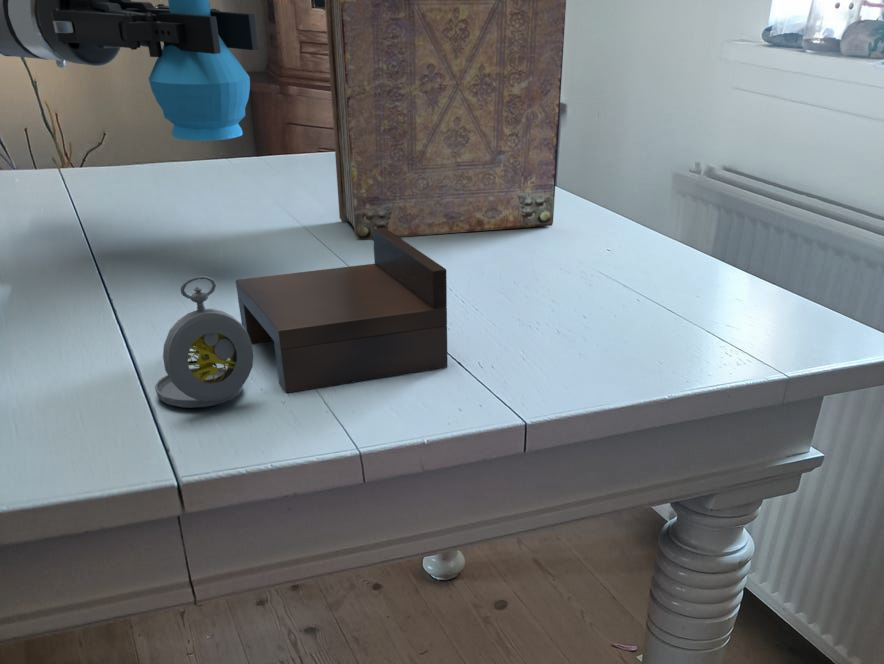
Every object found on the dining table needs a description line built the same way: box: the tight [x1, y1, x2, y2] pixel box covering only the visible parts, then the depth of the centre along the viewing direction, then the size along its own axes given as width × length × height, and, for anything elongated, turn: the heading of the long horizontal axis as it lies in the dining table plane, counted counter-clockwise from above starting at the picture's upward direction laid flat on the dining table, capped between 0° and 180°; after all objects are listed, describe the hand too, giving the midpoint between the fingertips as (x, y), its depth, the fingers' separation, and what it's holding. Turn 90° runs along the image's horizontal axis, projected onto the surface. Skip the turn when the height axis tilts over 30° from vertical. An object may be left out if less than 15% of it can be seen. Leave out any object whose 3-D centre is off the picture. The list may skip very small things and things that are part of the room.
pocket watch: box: [154, 275, 254, 409], centre depth 69 cm, size 8×8×10 cm
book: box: [324, 0, 567, 241], centre depth 107 cm, size 25×9×30 cm, turn 107°
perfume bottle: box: [148, 0, 251, 142], centre depth 85 cm, size 9×9×15 cm
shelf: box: [235, 228, 448, 394], centre depth 78 cm, size 14×14×8 cm
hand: (234, 33), depth 82 cm, fingers closed on perfume bottle, 4 cm apart
